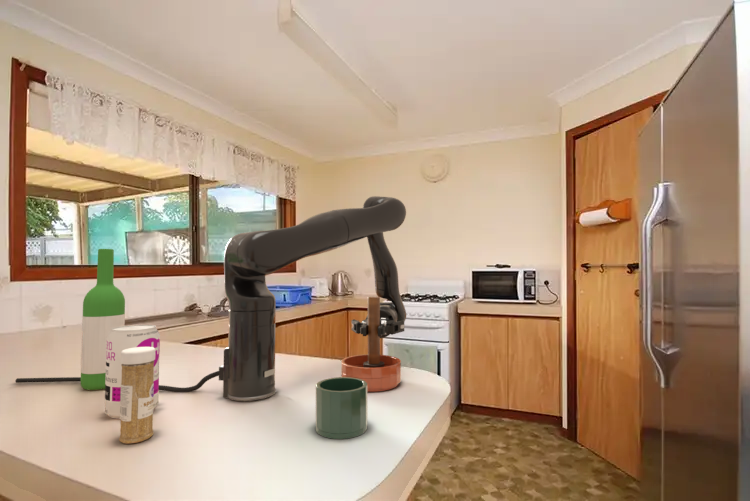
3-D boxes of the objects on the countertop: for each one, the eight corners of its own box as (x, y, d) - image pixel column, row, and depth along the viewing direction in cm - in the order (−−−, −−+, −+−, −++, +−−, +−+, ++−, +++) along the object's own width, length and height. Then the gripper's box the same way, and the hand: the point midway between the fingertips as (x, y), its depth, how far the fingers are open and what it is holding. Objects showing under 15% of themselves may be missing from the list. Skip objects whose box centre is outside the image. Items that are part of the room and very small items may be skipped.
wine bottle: (71, 389, 84) (75, 248, 86) (108, 379, 92) (111, 250, 93) (95, 393, 81) (99, 247, 83) (131, 383, 89) (134, 249, 90)
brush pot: (309, 437, 60) (309, 390, 60) (323, 417, 68) (323, 376, 69) (362, 440, 59) (362, 393, 59) (370, 419, 67) (370, 378, 67)
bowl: (335, 391, 83) (335, 367, 83) (348, 374, 96) (348, 353, 96) (398, 394, 81) (398, 369, 81) (402, 376, 94) (402, 355, 94)
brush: (367, 380, 87) (367, 297, 88) (360, 374, 92) (360, 296, 92) (387, 377, 89) (387, 297, 90) (379, 372, 93) (379, 295, 94)
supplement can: (168, 406, 74) (170, 325, 74) (127, 422, 66) (130, 332, 67) (135, 401, 76) (137, 323, 77) (93, 416, 69) (95, 329, 69)
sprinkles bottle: (154, 439, 59) (156, 349, 60) (118, 447, 57) (121, 353, 57) (152, 429, 63) (154, 344, 64) (118, 436, 61) (120, 347, 61)
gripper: (355, 306, 106) (341, 314, 89) (408, 307, 104) (403, 315, 87) (355, 334, 106) (340, 348, 89) (408, 336, 104) (403, 349, 87)
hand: (371, 331), depth 88 cm, fingers closed on brush, 3 cm apart
